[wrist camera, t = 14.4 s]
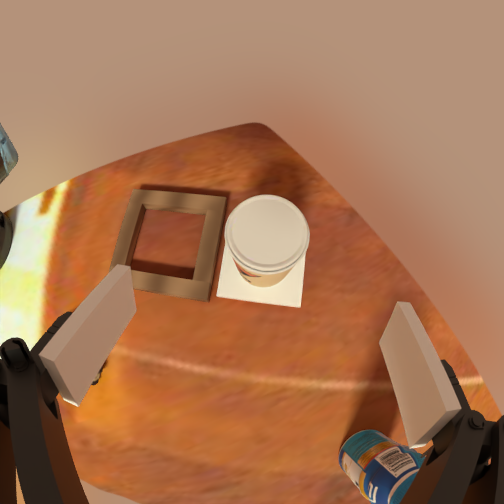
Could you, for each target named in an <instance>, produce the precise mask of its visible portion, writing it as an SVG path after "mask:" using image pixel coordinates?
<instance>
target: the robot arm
mask: <svg viewBox="0 0 504 504" xmlns="http://www.w3.org/2000/svg"><path fill="white" fill-rule="evenodd" d="M17 162H18V154H17V152H16V150H15V148H14V146H13V144H12V142H11V141H10V139H9V137H8V135H7V133H6V132H5V130H4V128H3V127H2V125H1V123H0V184H1V182H2V181H3V180H4V179H5V178H6V177H7V176H8V175H9V173H10V171H11V170H12V169H13V168H14V166H15V165H16V164H17ZM11 240H12V225H11V221H10V219H9V217H8V216H7V215H5V214H4V213H2V212H1V211H0V268H1V267H2V265H3V264H4V262H5V260H6V257H7V255H8V252H9V249H10V245H11ZM135 313H136V304H135V298H134V291H133V284H132V276H131V267H130V266H125V265H119V264H117V265H116V266H115V267H114V268H113V269H112V270H111V271H110V272H109V273H108V274H107V276H106V277H105V278H104V279H103V280H102V281H101V282H100V283H99V284H98V285H97V286H96V287H95V289H94V290H93V291H92V292H91V293H90V294H89V295H88V296H87V297H86V299H85V300H84V301H83V302H82V303H81V304H80V305H79V306H78V308H77V309H76V310H75V311H74V312H73V313H71V312H66V313H65V314H63V315H61V316H60V317H58V318H57V320H56V321H55V322H54V323H53V324H52V326H51V327H50V328H49V329H48V330H47V332H45V334H44V335H43V336H42V337H41V338H40V340H39V341H38V342H37V343H36V344H35V346H34V347H33V348H32V349H31V351H29V349H28V347H27V345H26V343H25V341H24V340H23V339H21V338H11V339H8V340H6V341H5V342H4V343H3V344H2V345H1V346H0V356H1V358H2V359H0V504H17V497H16V469H17V473H18V478H19V482H20V486H21V490H22V493H23V497H24V501H25V504H89V502H88V500H87V498H86V495H85V493H84V490H83V487H82V485H81V483H80V479H79V477H78V474H77V471H76V468H75V465H74V462H73V459H72V456H71V452H70V449H69V446H68V442H67V439H66V435H65V431H64V427H63V423H62V419H61V414H60V409H59V405H58V401H57V399H56V396H57V395H58V393H60V394H61V396H62V398H63V399H64V400H65V401H67V402H69V403H71V404H74V405H76V406H78V407H79V405H80V403H81V401H82V400H83V398H84V396H85V394H86V393H87V391H88V389H89V387H90V386H91V384H92V382H93V380H94V379H95V377H96V375H97V374H98V372H99V370H100V369H101V367H102V365H103V364H104V362H105V360H106V359H107V357H108V355H109V354H110V352H111V350H112V349H113V347H114V346H115V344H116V342H117V341H118V339H119V338H120V336H121V334H122V333H123V331H124V330H125V328H126V326H127V325H128V323H129V322H130V320H131V319H132V317H133V316H134V314H135ZM379 344H380V347H381V350H382V353H383V356H384V359H385V362H386V366H387V369H388V372H389V375H390V378H391V382H392V385H393V388H394V392H395V395H396V399H397V402H398V406H399V409H400V413H401V417H402V421H403V424H404V428H405V432H406V436H407V441H408V445H409V449H411V448H416V447H422V446H425V445H426V444H427V443H428V442H429V441H430V440H431V439H432V441H433V444H434V445H433V446H431V447H430V448H429V449H428V450H427V451H426V452H425V453H423V454H422V456H421V457H420V458H423V457H424V456H425V455H426V457H425V459H424V461H423V463H422V465H421V467H420V469H419V471H418V473H417V475H416V476H415V478H414V480H413V482H412V484H411V485H410V487H409V489H408V490H407V492H406V494H405V495H404V497H403V498H402V500H401V502H400V503H399V504H504V415H503V416H502V417H501V418H500V419H499V420H498V421H497V422H493V421H486V420H485V418H484V417H483V415H482V414H481V413H479V412H478V411H475V410H471V409H470V406H469V404H468V402H467V399H466V397H465V395H464V392H463V390H462V388H461V386H460V385H459V381H458V379H457V378H456V375H455V373H454V371H453V369H452V367H451V366H450V365H449V364H448V363H447V362H446V361H445V360H440V359H439V357H438V354H437V352H436V350H435V348H434V346H433V344H432V342H431V341H430V339H429V337H428V335H427V333H426V331H425V329H424V327H423V325H422V323H421V322H420V320H419V318H418V316H417V314H416V312H415V311H414V309H413V307H412V305H411V304H410V302H398V301H397V303H396V306H395V308H394V310H393V313H392V315H391V317H390V320H389V322H388V324H387V326H386V329H385V331H384V333H383V335H382V337H381V339H380V341H379ZM490 458H491V464H490V465H488V460H489V459H490Z"/></svg>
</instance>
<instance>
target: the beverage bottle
mask: <svg viewBox="0 0 504 504" xmlns="http://www.w3.org/2000/svg"><path fill="white" fill-rule="evenodd" d="M421 456H422V454H420V453H417V452H416V451H415V450H414V449H413V448H411V449H409V446H406V445H401V444H399V443H397V442H395V441H393V440H392V439H390V438H388V437H387V436H385V435H384V434H383V433H381V432H379V431H377V430H363V431H360V432H357V433H355V434H354V435H352V436H351V437H350V438H348V439H347V440H346V442H345V443H344V444H343V446H342V447H341V450H340V452H339V464H340V467H341V468H342V469H343V471H344V472H345V473H346V474H347V475H348V476H349V477H350V479H351V480H352V481H353V482H354V483H355V485H356V486H357V487H358V488H359V490H360V492H361V494H362V495H363V496H364V497H365V498H366V499H367V500H369V501H370V502H371V504H399V503H400V502H401V500H402V498H403V497H404V495H405V494H406V492H407V490H408V489H409V487H410V485H411V484H412V482H413V480H414V478H415V476H416V475H417V473H418V471H419V469H420V467H421V465H422V463H423V461H424V459H425V456H424V457H423V458H420V457H421Z"/></svg>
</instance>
